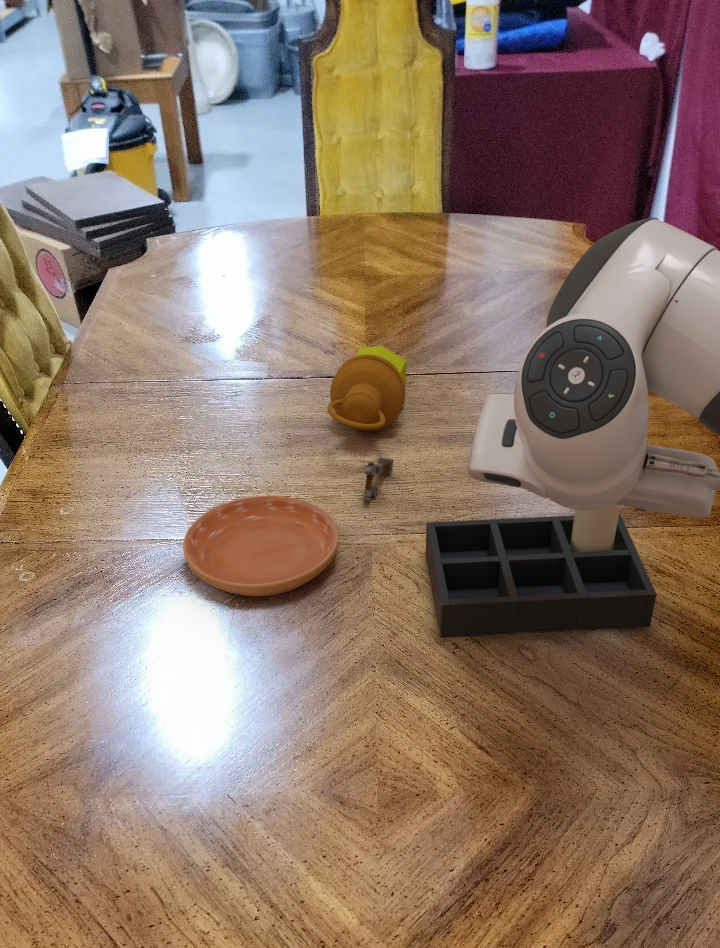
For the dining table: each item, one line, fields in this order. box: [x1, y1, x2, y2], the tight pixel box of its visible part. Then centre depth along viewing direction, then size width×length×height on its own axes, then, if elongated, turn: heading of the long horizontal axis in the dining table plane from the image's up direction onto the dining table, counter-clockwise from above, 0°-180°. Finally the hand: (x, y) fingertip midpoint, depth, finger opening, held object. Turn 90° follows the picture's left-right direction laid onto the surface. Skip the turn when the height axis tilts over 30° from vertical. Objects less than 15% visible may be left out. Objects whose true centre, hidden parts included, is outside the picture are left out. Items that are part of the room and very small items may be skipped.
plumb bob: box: [327, 345, 407, 432], centre depth 123 cm, size 9×9×25 cm
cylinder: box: [570, 504, 622, 552], centre depth 98 cm, size 4×4×9 cm
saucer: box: [182, 495, 340, 597], centre depth 103 cm, size 16×16×3 cm
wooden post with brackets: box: [363, 456, 394, 504], centre depth 113 cm, size 2×8×4 cm, turn 163°
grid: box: [425, 513, 658, 638], centre depth 98 cm, size 20×14×4 cm
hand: (592, 493), depth 89 cm, fingers open, 8 cm apart
